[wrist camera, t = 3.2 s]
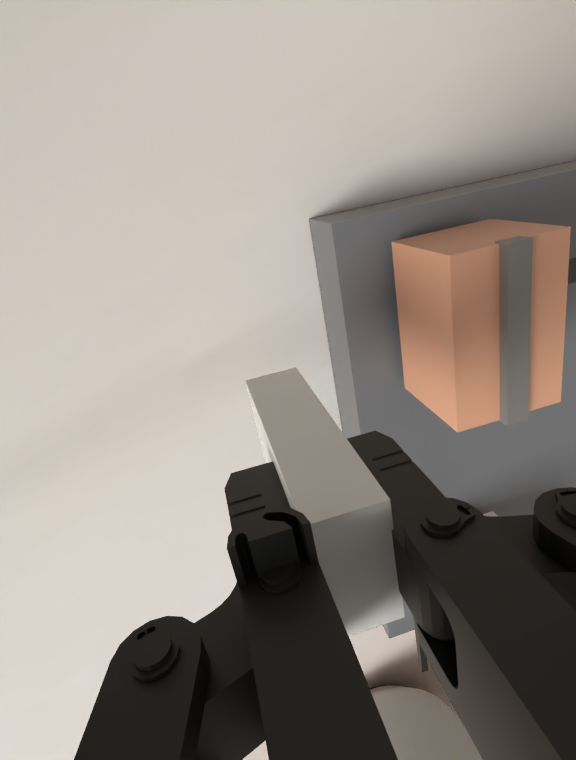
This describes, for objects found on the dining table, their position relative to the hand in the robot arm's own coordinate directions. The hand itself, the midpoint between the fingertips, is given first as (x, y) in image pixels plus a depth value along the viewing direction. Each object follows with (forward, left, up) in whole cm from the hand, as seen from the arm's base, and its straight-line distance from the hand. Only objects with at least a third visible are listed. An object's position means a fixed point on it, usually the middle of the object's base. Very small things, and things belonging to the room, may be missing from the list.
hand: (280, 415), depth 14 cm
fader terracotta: (0, +8, -4) cm, 9 cm away
